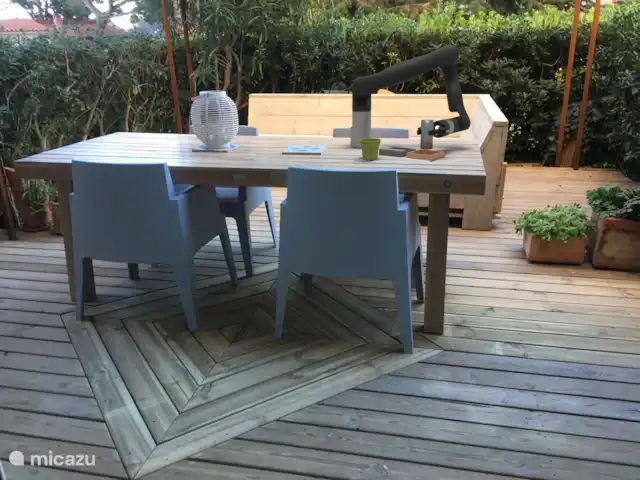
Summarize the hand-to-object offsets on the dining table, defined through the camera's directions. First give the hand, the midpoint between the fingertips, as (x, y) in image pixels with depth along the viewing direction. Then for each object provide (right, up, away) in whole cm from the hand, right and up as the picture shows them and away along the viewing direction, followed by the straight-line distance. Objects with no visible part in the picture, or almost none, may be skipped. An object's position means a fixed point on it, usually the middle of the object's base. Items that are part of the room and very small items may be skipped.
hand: (424, 132), depth 230 cm
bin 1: (-9, -7, +14) cm, 18 cm away
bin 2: (+2, -10, +5) cm, 11 cm away
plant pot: (-22, -11, +5) cm, 25 cm away
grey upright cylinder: (+2, -6, +4) cm, 7 cm away
